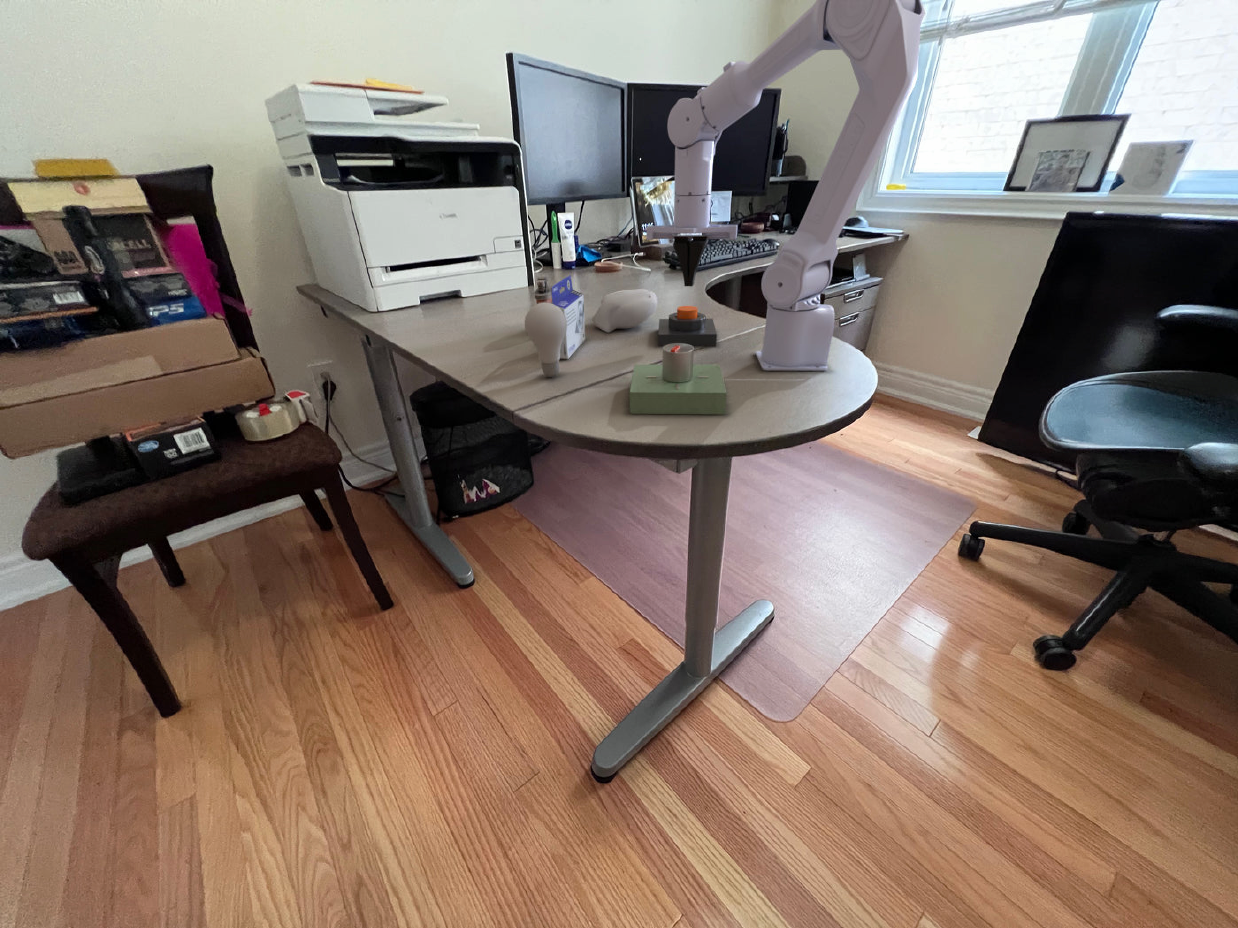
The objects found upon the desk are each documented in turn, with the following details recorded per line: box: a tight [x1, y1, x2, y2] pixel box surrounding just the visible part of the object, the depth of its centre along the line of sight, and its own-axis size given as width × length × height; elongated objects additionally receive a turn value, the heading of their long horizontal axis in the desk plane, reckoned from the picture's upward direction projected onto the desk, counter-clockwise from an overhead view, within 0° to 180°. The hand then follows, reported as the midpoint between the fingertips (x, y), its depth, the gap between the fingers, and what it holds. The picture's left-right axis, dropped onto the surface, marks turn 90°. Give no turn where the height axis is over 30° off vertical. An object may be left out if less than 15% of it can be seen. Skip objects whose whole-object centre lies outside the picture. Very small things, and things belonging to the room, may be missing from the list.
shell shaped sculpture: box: [591, 288, 658, 333], centre depth 96 cm, size 13×13×6 cm
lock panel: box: [629, 364, 728, 416], centre depth 66 cm, size 12×10×3 cm
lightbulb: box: [524, 303, 567, 378], centre depth 72 cm, size 6×6×11 cm
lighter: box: [533, 274, 552, 304], centre depth 94 cm, size 8×3×10 cm, turn 179°
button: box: [676, 305, 699, 319], centre depth 87 cm, size 4×4×2 cm
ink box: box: [551, 274, 586, 360], centre depth 83 cm, size 12×2×12 cm, turn 168°
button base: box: [657, 311, 718, 348], centre depth 88 cm, size 10×10×4 cm
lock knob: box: [661, 343, 695, 383], centre depth 64 cm, size 4×4×4 cm
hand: (689, 285), depth 84 cm, fingers closed
